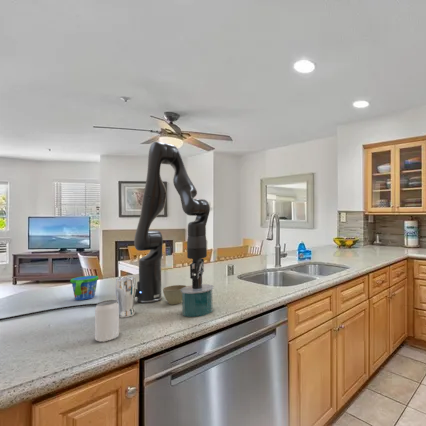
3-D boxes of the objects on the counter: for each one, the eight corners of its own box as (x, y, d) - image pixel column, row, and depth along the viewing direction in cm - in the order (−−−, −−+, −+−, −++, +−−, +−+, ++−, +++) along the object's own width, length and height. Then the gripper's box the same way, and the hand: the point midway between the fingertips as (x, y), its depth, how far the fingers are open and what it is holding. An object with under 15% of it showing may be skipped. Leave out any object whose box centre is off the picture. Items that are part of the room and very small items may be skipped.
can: (103, 334, 101) (103, 299, 101) (123, 333, 101) (123, 299, 101) (90, 342, 95) (90, 305, 94) (111, 341, 95) (111, 305, 95)
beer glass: (140, 313, 122) (139, 277, 122) (124, 318, 115) (123, 281, 115) (128, 311, 124) (127, 276, 124) (111, 317, 118) (111, 279, 118)
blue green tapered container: (81, 294, 150) (81, 274, 150) (105, 293, 152) (104, 273, 152) (62, 304, 135) (62, 282, 135) (88, 302, 137) (88, 280, 137)
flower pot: (177, 307, 130) (177, 290, 129) (157, 305, 132) (157, 289, 131) (191, 300, 139) (191, 285, 139) (173, 299, 141) (173, 284, 141)
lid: (180, 296, 114) (180, 280, 114) (180, 289, 126) (180, 274, 126) (215, 292, 120) (215, 277, 120) (212, 285, 132) (212, 271, 132)
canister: (182, 318, 115) (182, 294, 115) (182, 309, 126) (182, 287, 126) (213, 314, 120) (213, 291, 120) (211, 305, 131) (210, 284, 131)
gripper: (191, 244, 129) (192, 282, 129) (182, 248, 115) (183, 290, 115) (209, 244, 131) (210, 281, 131) (202, 248, 117) (203, 289, 117)
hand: (197, 285), depth 123 cm, fingers open, 7 cm apart
